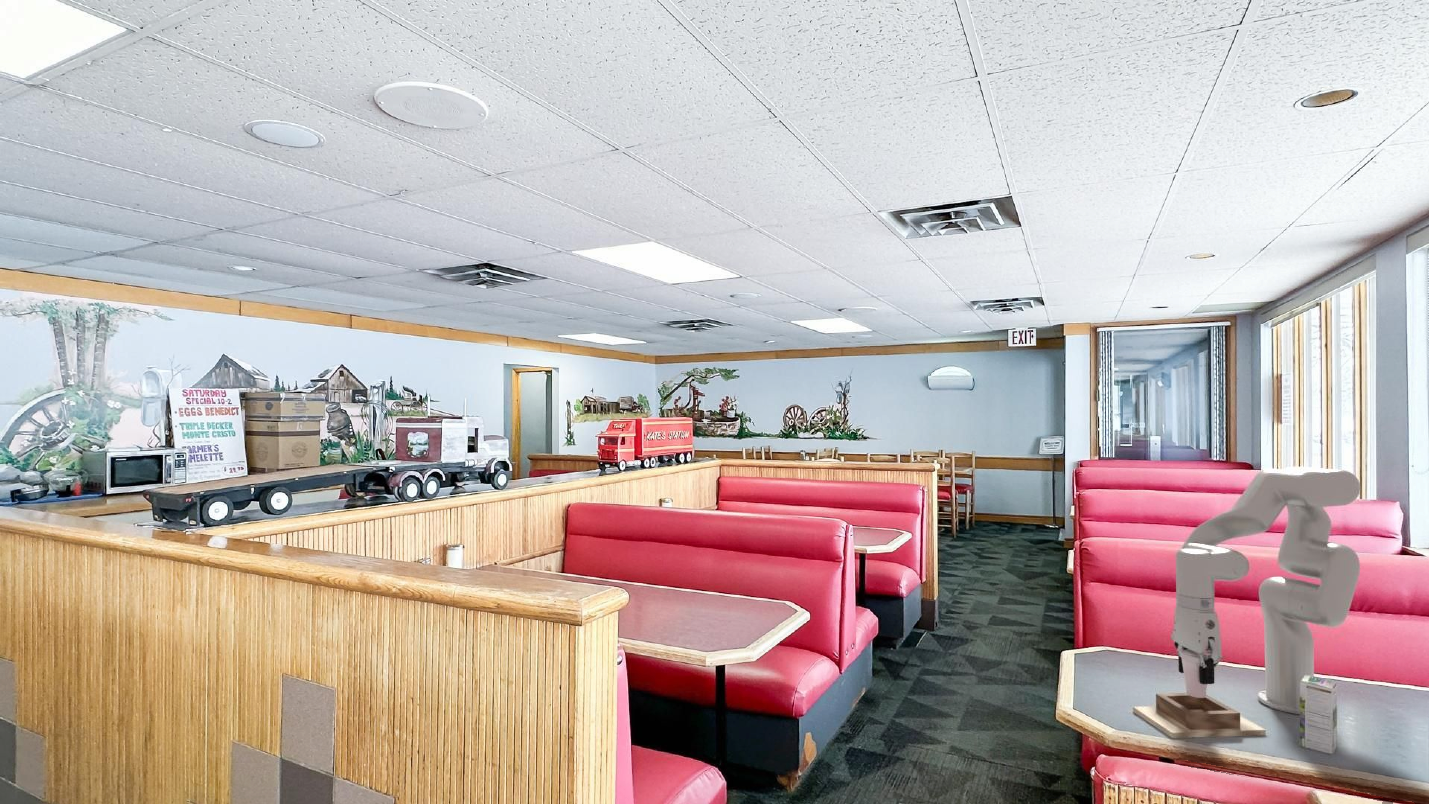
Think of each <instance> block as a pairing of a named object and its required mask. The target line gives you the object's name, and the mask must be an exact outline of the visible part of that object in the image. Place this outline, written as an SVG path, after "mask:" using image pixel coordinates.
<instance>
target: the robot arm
mask: <svg viewBox="0 0 1429 804" xmlns="http://www.w3.org/2000/svg"><path fill="white" fill-rule="evenodd" d="M1360 492H1361V484H1360V481H1359V479H1358V478H1357V476H1356V475H1355V474H1354V473H1352V472H1350V471H1348V470H1345V469H1344V470H1343V469H1332V468H1319V467H1311V466H1310V467H1307V466H1288V467H1284V468H1281V469H1280V468H1267V469H1263V470H1261V471H1259V472H1258V473H1256V475H1255V476H1254V478H1253V479H1252V480H1251V482H1250V483H1249V484H1248V486H1247V487H1246V489H1244V491H1243V493H1242V494H1241V495H1240V497H1239V498H1238V500H1237V501H1236V502H1235V503H1234V505H1233V506H1232V508H1231V509H1229V510H1227V511H1224V512H1222V513H1219V514H1218V515H1216V516H1214V517H1212V518H1210V519H1208V520H1206V521H1204V522H1203V523H1200V524H1199V525H1198V526H1197V527H1196V528H1194V530H1193V531H1192V532H1191V533H1190V534H1189V536H1188V537H1187V539H1186V540H1185V541H1184V543H1183V545H1182V547H1181V548H1180V549H1178V550H1177V551H1176V554H1175V583H1176V584H1175V585H1176V586H1175V589H1176V591H1175V596H1176V599H1175V603H1176V605H1175V609H1174V619H1173V632H1172V633H1171V634H1170V637H1171V640H1172V641H1173V643H1174V647H1175V648H1176V654H1177V657H1178V658H1177V659H1178V673H1181V674H1184V671H1183V665H1182V658H1181V657H1180V651H1181V650H1191V651H1194V652H1196V653H1198V655H1199V658H1200V662H1201V665H1202V666H1199V682H1200V683H1201V684H1207V685H1213V684H1215V668H1217V665H1218V664H1219V663H1220V662H1221V661H1222V660H1223V659H1224V656H1223V654H1222V640H1221V638H1222V637H1221V629H1220V622H1219V618H1218V615H1217V612H1216V611H1215V609H1216V608H1215V581H1223V582H1224V581H1225V582H1234V581H1236V582H1237V581H1239V580H1242V579H1243V578H1245V577H1246V576H1247V574H1249V571H1250V562H1249V560H1248V558H1247V557H1246V555H1245V554H1243V553H1242V552H1240V551H1238V550H1235V549H1232V548H1228V547H1222V546H1218V545H1219V544H1222V543H1223V542H1226V541H1229V540H1232V539H1237V538H1242V537H1249V536H1250V537H1251V536H1254V535H1259V534H1264V533H1265V532H1267V531H1269V530H1270V529H1271V527H1272V525H1273V524H1274V523H1275V521H1276V519H1278V517H1279V516H1280V514H1281V513H1282V511H1283V510H1284V509H1285V507H1286V509H1287V513H1288V518H1287V523H1286V527H1285V531H1284V533H1283V537H1282V541H1281V543H1280V547H1279V550H1278V556H1277V563H1278V565H1279V568H1281V569H1282V570H1283V571H1285V572H1287V573H1289V574H1293V575H1296V576H1301V577H1305V578H1309V579H1315V580H1319V581H1320V584H1319V583H1313V582H1309V581H1304V580H1301V579H1297V578H1296V579H1295V578H1290V577H1284V576H1271V577H1268V578H1266V579H1264V580H1263V581H1262V583H1261V584H1260V586H1259V588H1258V598H1259V603H1260V606H1261V611H1262V615H1263V626H1264V670H1265V672H1264V676H1265V678H1264V679H1265V682H1264V683H1265V690H1262V691H1259V692H1258V694H1257V699H1258V700H1259V702H1260V703H1262V704H1263V705H1265V706H1267V707H1270V708H1272V709H1275V710H1279V711H1281V712H1286V713H1290V714H1295V715H1300V682H1301V681H1302V679H1303V678H1304V676H1305V675H1307V676H1314V677H1315V667H1314V665H1315V664H1314V659H1315V658H1314V657H1315V654H1314V653H1315V652H1314V636H1313V633H1312V630H1311V628H1310V627H1309V625H1308V623H1310V624H1312V625H1313V624H1314V625H1317V626H1320V627H1321V626H1322V627H1325V628H1326V627H1327V628H1337V627H1339V626H1342V624H1343V623H1344V622H1345V621H1346V619H1347V617H1348V615H1349V612H1350V610H1351V609H1350V608H1351V606H1352V601H1353V598H1354V595H1355V591H1356V587H1357V585H1358V581H1359V578H1360V571H1361V563H1360V558H1359V556H1358V554H1357V553H1356V551H1355V550H1354V549H1353V548H1352V547H1350V546H1348V545H1345V544H1342V543H1338V542H1337V543H1336V542H1331V541H1329V539H1330V535H1331V534H1330V533H1331V532H1332V531H1331V530H1332V520H1331V518H1330V516H1329V514H1328V513H1327V511H1326V509H1325V508H1326V507H1327V508H1329V507H1338V506H1339V507H1340V506H1346V505H1349V504H1351V503H1353V502H1354V501H1356V500H1357V499H1358V497H1359V496H1360ZM1206 651H1207V652H1206ZM1205 656H1208V658H1209V659H1207V660H1206V659H1205Z"/></svg>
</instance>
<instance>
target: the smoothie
mask: <svg viewBox="0 0 1429 804" xmlns="http://www.w3.org/2000/svg"><path fill="white" fill-rule="evenodd" d="M1179 656H1180V657H1181V658H1182V665H1183V671H1184V673H1183V677H1184V683H1185V690H1186V693H1187V694H1188V695H1190V696H1192V697H1197V698H1205V697H1206V695H1207V690H1208V689H1207V687H1208V684H1201V683H1200V682H1199V666H1202V665H1201V662H1200V658H1199V655H1198V653H1196V652H1194V651H1191V650H1181V651H1180V655H1179ZM1205 659H1206V660H1207V659H1209V658H1208V656H1205Z"/></svg>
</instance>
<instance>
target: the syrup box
mask: <svg viewBox="0 0 1429 804" xmlns="http://www.w3.org/2000/svg"><path fill="white" fill-rule="evenodd" d="M1299 746H1300V747H1302V748H1306V749H1309V748H1310V750H1314V751H1318V752H1321V753H1326V754H1330V755H1334V754H1335V751H1336V748H1337V746H1338V682H1336V681H1334V680H1331V679H1327V678H1322V677H1319V676H1315V675H1314V676H1307V675H1305V676H1304V678H1303V679H1302V681H1301V682H1300V714H1299Z"/></svg>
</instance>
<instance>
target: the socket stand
mask: <svg viewBox="0 0 1429 804" xmlns="http://www.w3.org/2000/svg"><path fill="white" fill-rule="evenodd" d="M1132 713H1134V714H1136V715H1137V716H1138V717H1140V718H1142V719H1143V720H1145V721H1146V722H1147V723H1149V724H1151V725H1152V726H1154V727H1155V728H1156V729H1157V730H1160V732H1162V731H1163V732H1162V733H1164V734H1165V735H1167V736H1168V737H1170V738H1171V739H1187V738H1188V739H1189V738H1192V737H1194V738H1217V737H1218V738H1219V737H1220V738H1221V737H1224V738H1225V737H1246V736H1251V737H1252V736H1253V737H1254V736H1267V733H1266V732H1267V731H1266V729H1265V728H1263V727H1261V726H1260V725H1257V724H1256V723H1255V722H1252V721H1251V720H1249V719H1247V718H1246V717H1243V716H1242V715H1241V713H1240V712H1239V711H1237V710H1236V709H1233V708H1232V707H1230V706H1229V705H1226V704H1225V703H1223V702H1221V701H1219V700H1217V699H1216V698H1213V697H1212V696H1210V695H1208V694H1206V697H1205V698H1197V697H1192V696H1190V695H1188V694H1187V692H1171V693H1167V692H1166V693H1155V705H1151V706H1145V705H1144V706H1132Z"/></svg>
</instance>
